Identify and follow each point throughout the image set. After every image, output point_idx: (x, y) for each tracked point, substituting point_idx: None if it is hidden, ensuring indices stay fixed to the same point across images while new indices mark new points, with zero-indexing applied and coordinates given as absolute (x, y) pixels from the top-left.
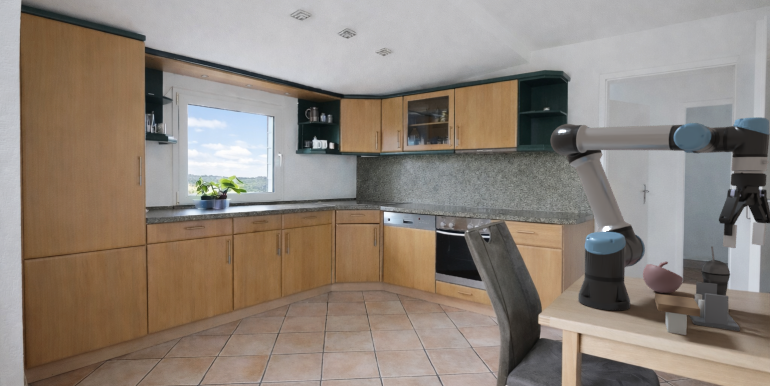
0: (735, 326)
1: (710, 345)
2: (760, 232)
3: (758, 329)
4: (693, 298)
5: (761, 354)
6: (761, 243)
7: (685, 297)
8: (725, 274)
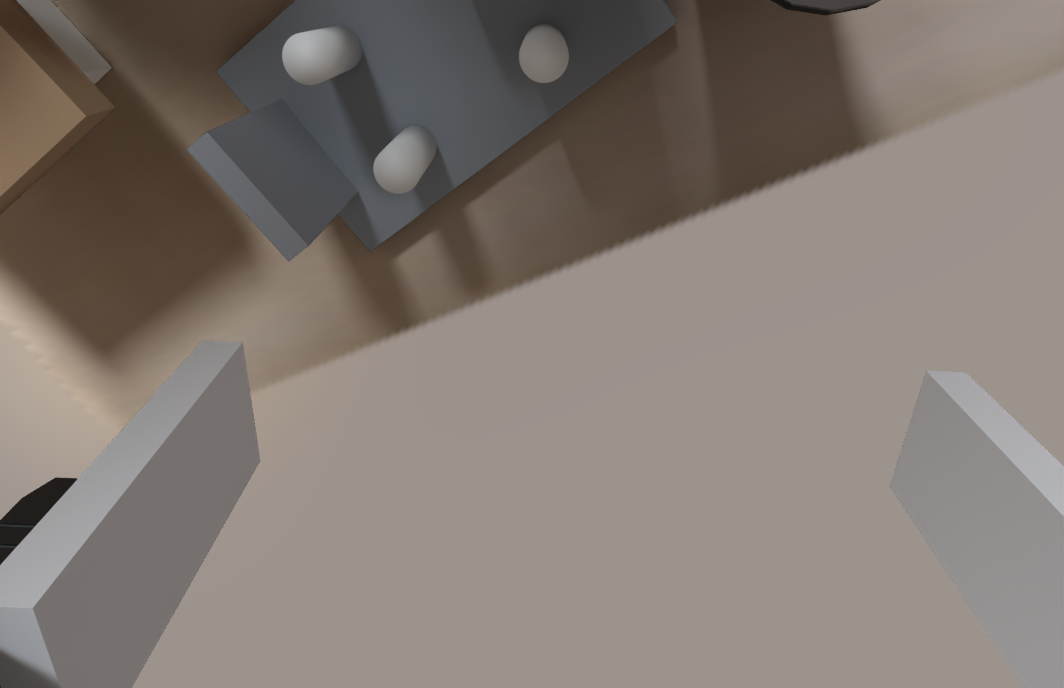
0: (365, 233)
1: (22, 289)
2: (1001, 595)
3: (507, 270)
4: (78, 120)
5: None
6: (906, 488)
7: (38, 75)
8: (783, 3)
